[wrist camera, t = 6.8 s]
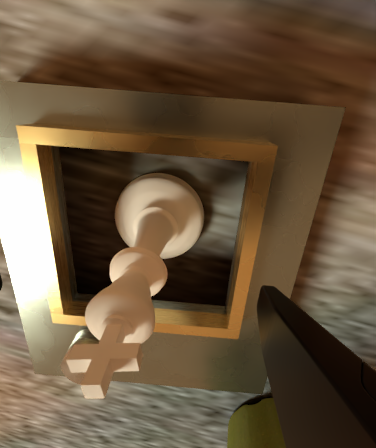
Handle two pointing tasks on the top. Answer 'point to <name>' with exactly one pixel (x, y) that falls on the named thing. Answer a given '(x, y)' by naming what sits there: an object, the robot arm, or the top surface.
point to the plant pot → (255, 427)
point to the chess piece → (136, 276)
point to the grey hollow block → (167, 145)
